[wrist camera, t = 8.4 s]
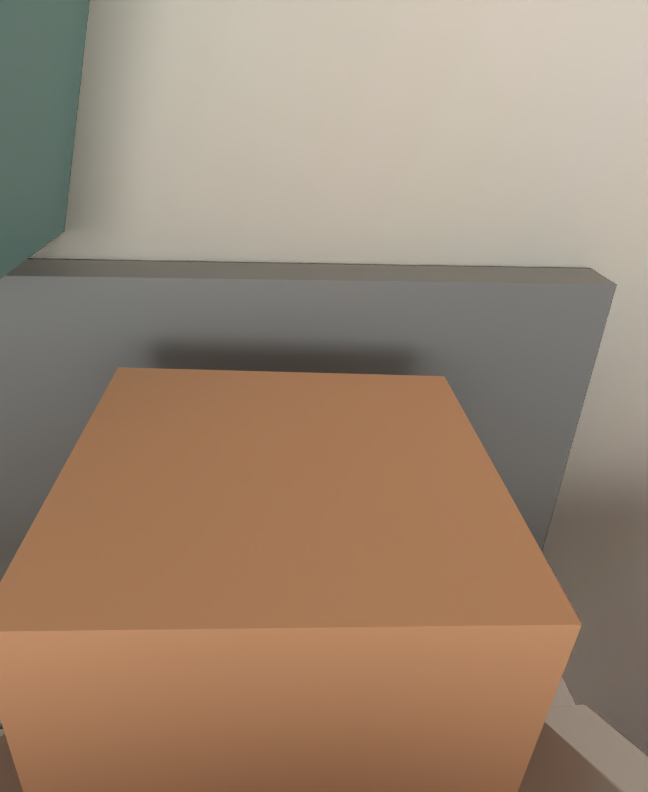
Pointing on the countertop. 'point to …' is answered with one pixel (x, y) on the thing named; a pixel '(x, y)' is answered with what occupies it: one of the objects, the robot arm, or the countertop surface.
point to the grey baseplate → (298, 351)
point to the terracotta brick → (278, 595)
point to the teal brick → (37, 120)
